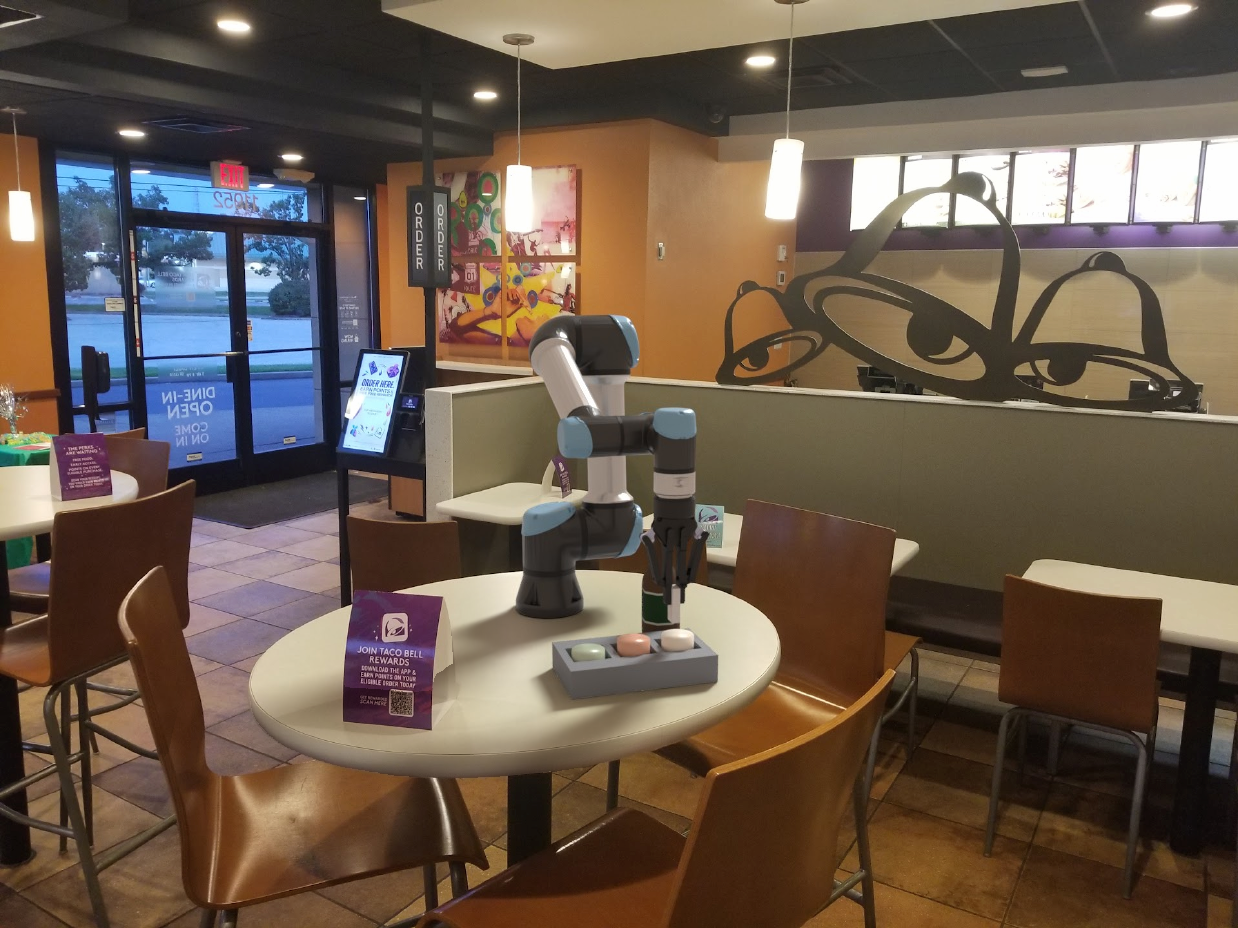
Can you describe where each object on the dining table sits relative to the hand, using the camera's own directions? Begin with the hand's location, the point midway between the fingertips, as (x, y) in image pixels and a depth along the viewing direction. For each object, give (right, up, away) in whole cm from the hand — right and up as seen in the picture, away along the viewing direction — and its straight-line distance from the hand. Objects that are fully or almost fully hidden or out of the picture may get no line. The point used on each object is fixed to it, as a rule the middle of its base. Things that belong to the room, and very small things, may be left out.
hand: (673, 620), depth 173 cm
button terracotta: (-7, -7, -1) cm, 11 cm away
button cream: (+1, -7, +2) cm, 7 cm away
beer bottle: (-2, -7, +17) cm, 19 cm away
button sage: (-16, -9, -3) cm, 18 cm away
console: (-7, -10, 0) cm, 12 cm away
